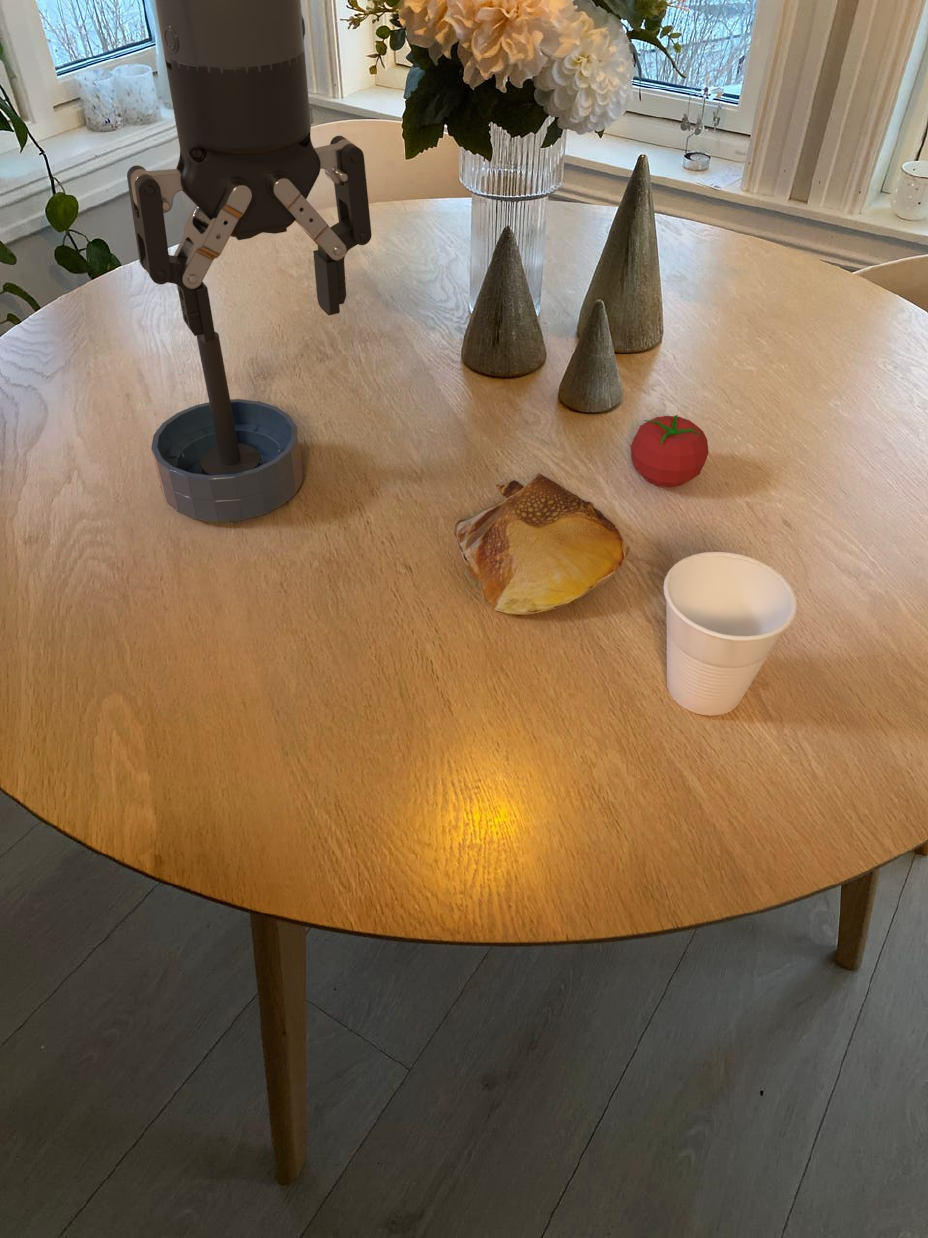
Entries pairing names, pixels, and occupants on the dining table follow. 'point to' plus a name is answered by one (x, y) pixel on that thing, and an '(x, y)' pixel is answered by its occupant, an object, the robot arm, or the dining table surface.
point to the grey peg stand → (222, 418)
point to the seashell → (539, 548)
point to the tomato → (669, 451)
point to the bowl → (231, 493)
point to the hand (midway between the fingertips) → (268, 323)
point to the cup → (721, 627)
